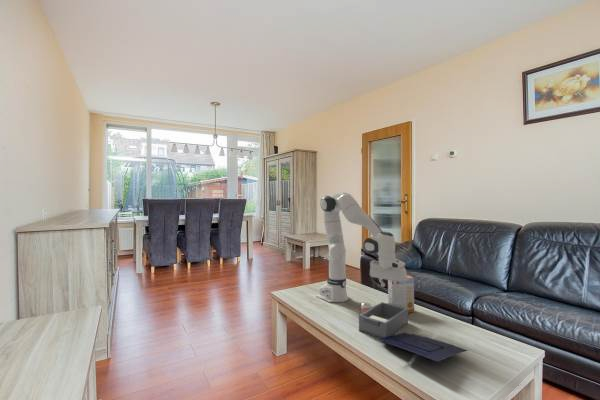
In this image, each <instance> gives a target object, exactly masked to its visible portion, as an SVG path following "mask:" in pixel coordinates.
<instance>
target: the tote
mask: <svg viewBox="0 0 600 400" xmlns="http://www.w3.org/2000/svg"><path fill="white" fill-rule="evenodd" d="M371 315H373V316H377V317H380V318H384V319H387V320H388V321H386V322H383V321H379V320H376V319H373V318H369V317H370V316H371ZM408 316H409V315H408V311H407V308H403V307H402V306H398V305H394V304H390V303H389V302H388V303H386V302H380V303H378V304H376V305H374V306H373V307H370V309H369V310H367V311H365V312H364V313H362V314H361V313H360V314H358V331H360V332H362V333H364V334H368V335H370V336H373V337H377V338H378V339H379V338H384V337H388V336H393V335H396V333H398V332H399V331H400V330H401V329H403V328H404V327H406V325H407V324H408Z"/></svg>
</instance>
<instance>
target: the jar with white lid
mask: <svg viewBox="0 0 600 400" xmlns="http://www.w3.org/2000/svg"><path fill="white" fill-rule="evenodd" d="M369 309H371V303H370V302H369V303H368V302H361V305H360V314H362V313H364V312H365V311H367V310H369Z"/></svg>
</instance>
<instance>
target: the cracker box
mask: <svg viewBox="0 0 600 400" xmlns="http://www.w3.org/2000/svg"><path fill="white" fill-rule="evenodd" d="M414 279H415V277H413V276H410V275H408V274H407V280H406V281H405V282H397V283H396V285H395V289H392V288H391V285H393V284H394V283H393V281H392V280H387V297H388V298H387V299H388V303H390V304H394V305H398V306H402V307H403V308H407V311H408V313H409V314H411V313H415V283H414V282H415V281H414Z"/></svg>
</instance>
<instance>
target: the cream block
mask: <svg viewBox="0 0 600 400" xmlns="http://www.w3.org/2000/svg"><path fill="white" fill-rule="evenodd" d="M369 318H373V319H376V320H379V321H383V322H386V321H388V320H387V319H384V318H380V317H377V316H373V315H371V316H370V317H369Z"/></svg>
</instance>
